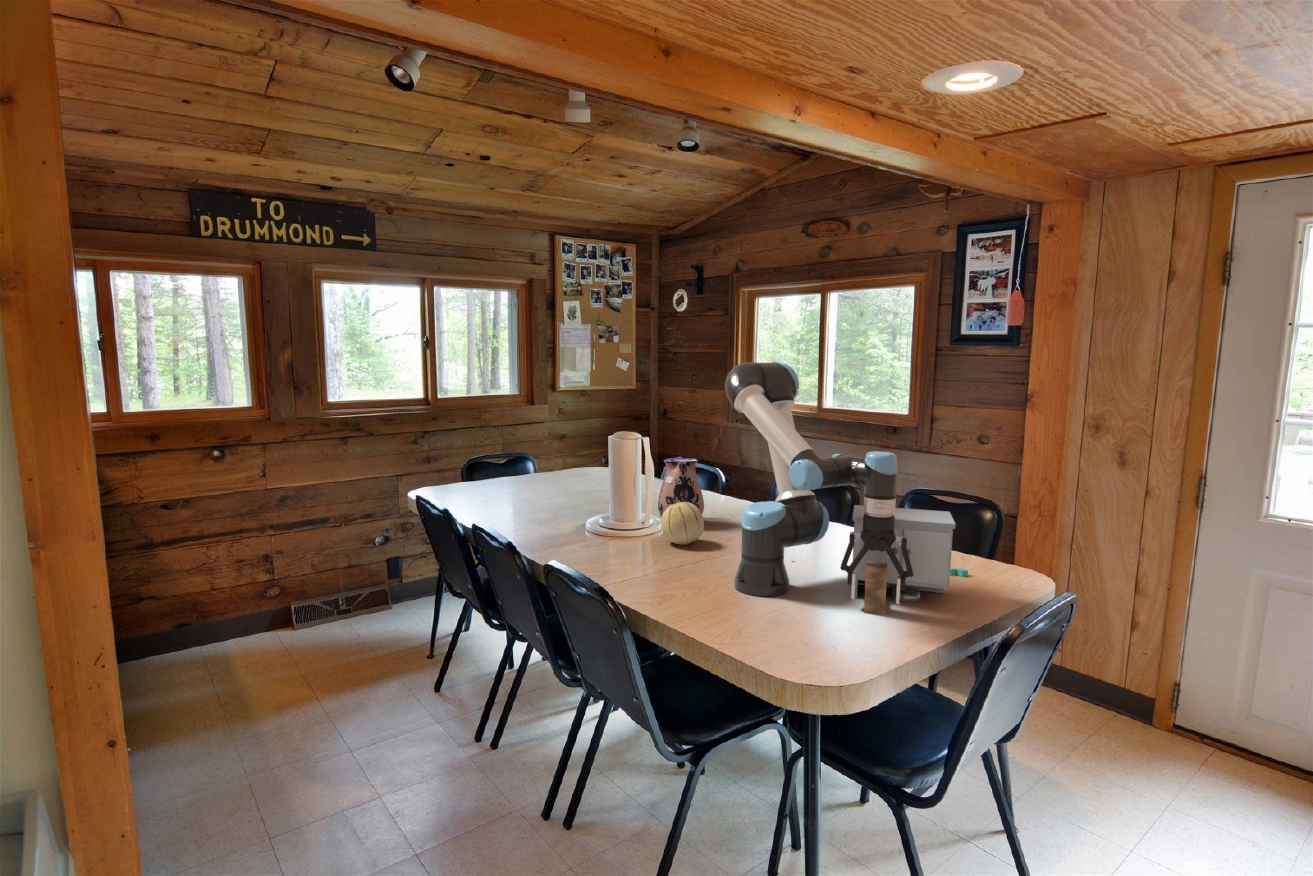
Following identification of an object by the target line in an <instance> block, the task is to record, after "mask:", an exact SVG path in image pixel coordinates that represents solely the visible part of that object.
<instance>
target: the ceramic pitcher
mask: <svg viewBox="0 0 1313 876" xmlns="http://www.w3.org/2000/svg"><path fill="white" fill-rule="evenodd" d="M698 461H699V459H696V458H688V457H682V456H678V457H671V458H670V457H669V458H666V459H664V460H663V462H664V464H665V469H666V470H665V475H664V477H663V480H662V483H661V487H660V490H659V494H658V501H657V508H658V509H657V510H658V512H659V515H660V517H661V518H662V515H663V513H664V511H665V510H666V509H667V508H668V507H669V506H671V505H672V504H675V503H676V502H674V500H677V501H679V502H688V503H692V504H693V505H695V506H696V507H697V508H698V509H699V510H700V512H701V514H702V515H703V513H704V509H705V501H704V495H703V493H702V489H701V486H700V482H699V478H698V476H697V472H696V466H697V464H698Z"/></svg>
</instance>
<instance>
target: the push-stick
mask: <svg viewBox="0 0 1313 876" xmlns="http://www.w3.org/2000/svg"><path fill="white" fill-rule="evenodd" d="M886 582H887V563H884V562H873V561H866V579H865V585H864V605H863V613H864V614H869V615H870V614H872V615H881V616H882V615H883V616H885V615H886V602H887V601H886V600H887V599H886V597H887V587H886Z"/></svg>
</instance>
